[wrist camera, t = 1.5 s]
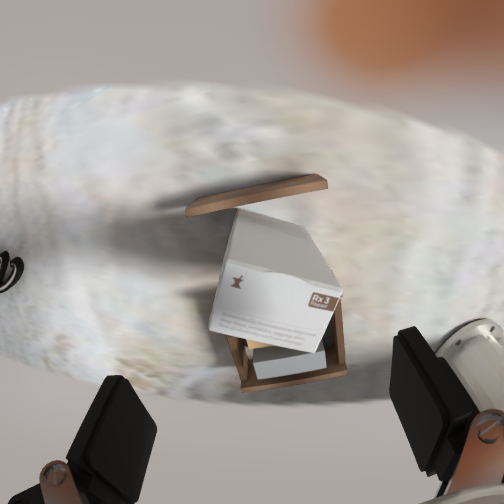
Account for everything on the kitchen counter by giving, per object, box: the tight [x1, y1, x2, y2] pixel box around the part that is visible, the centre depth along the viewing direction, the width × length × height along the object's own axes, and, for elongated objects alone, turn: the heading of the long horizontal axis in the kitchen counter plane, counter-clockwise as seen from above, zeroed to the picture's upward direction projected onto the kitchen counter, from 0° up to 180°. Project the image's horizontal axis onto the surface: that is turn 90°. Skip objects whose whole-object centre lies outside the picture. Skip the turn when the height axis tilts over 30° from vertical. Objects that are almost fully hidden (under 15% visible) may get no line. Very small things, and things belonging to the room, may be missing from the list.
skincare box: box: [208, 209, 343, 353], centre depth 20 cm, size 6×4×12 cm
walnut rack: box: [185, 174, 348, 392], centre depth 26 cm, size 10×18×4 cm, turn 12°
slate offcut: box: [253, 339, 327, 379], centre depth 27 cm, size 6×2×5 cm, turn 102°
